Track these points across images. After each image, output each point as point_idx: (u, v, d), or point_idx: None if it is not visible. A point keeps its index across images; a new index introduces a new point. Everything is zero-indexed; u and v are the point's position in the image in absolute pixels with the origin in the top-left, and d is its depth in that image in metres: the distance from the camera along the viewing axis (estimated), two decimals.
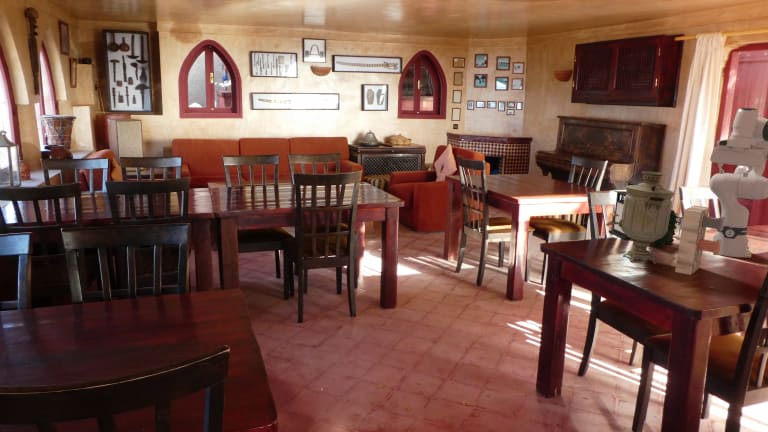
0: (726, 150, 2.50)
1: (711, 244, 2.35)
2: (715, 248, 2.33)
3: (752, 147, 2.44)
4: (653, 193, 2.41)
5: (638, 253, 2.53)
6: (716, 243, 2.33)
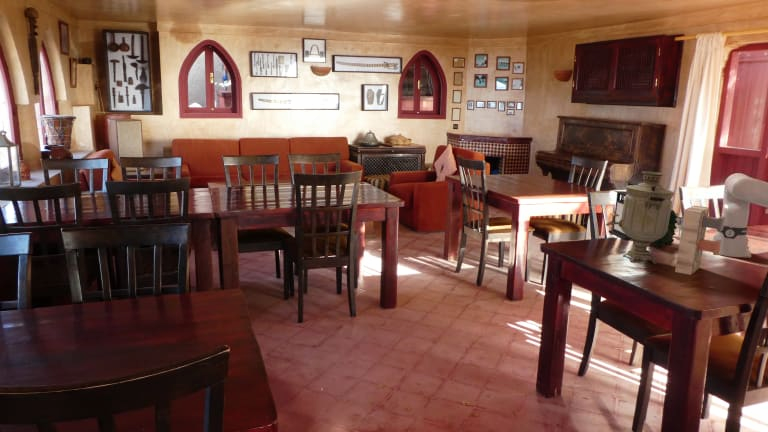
0: None
1: (711, 244, 2.35)
2: (715, 248, 2.33)
3: None
4: (653, 193, 2.41)
5: (638, 253, 2.53)
6: (716, 243, 2.33)
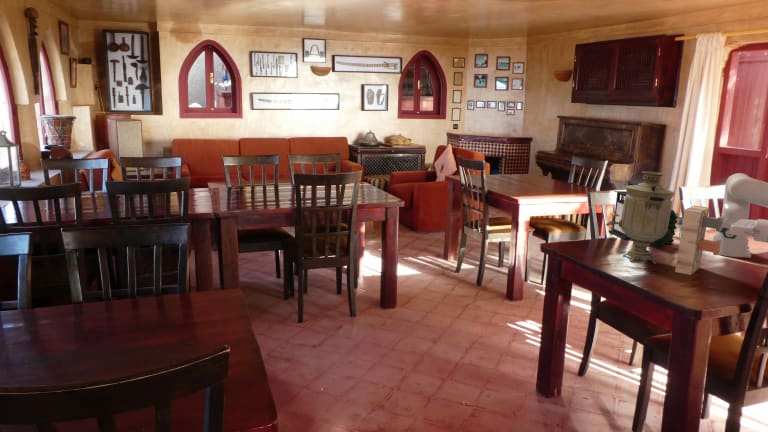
0: None
1: (711, 244, 2.35)
2: (715, 248, 2.33)
3: (756, 230, 2.21)
4: (653, 193, 2.41)
5: (638, 253, 2.53)
6: (716, 243, 2.33)
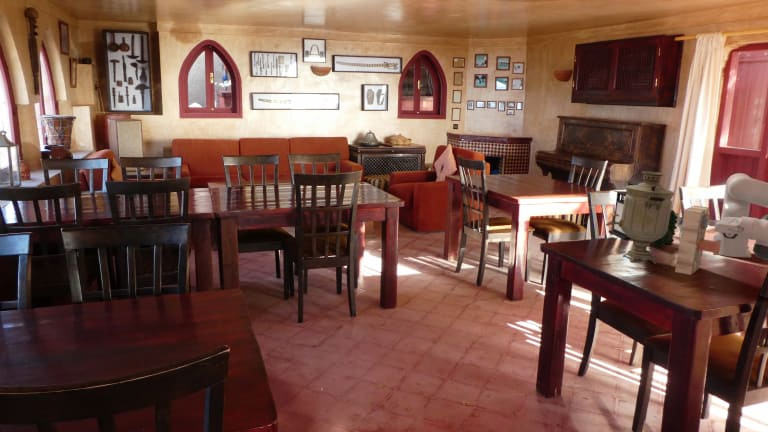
0: None
1: (711, 244, 2.35)
2: (715, 248, 2.33)
3: (740, 227, 2.24)
4: (653, 193, 2.41)
5: (638, 253, 2.53)
6: (716, 243, 2.33)
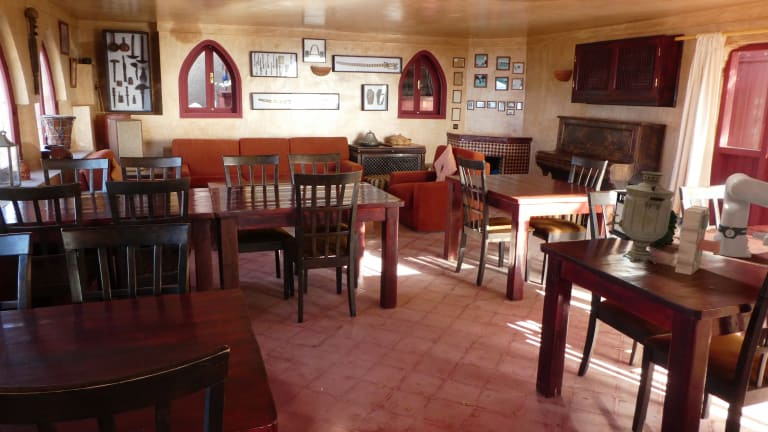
0: None
1: (711, 244, 2.35)
2: (715, 248, 2.33)
3: None
4: (653, 193, 2.41)
5: (638, 253, 2.53)
6: (716, 243, 2.33)
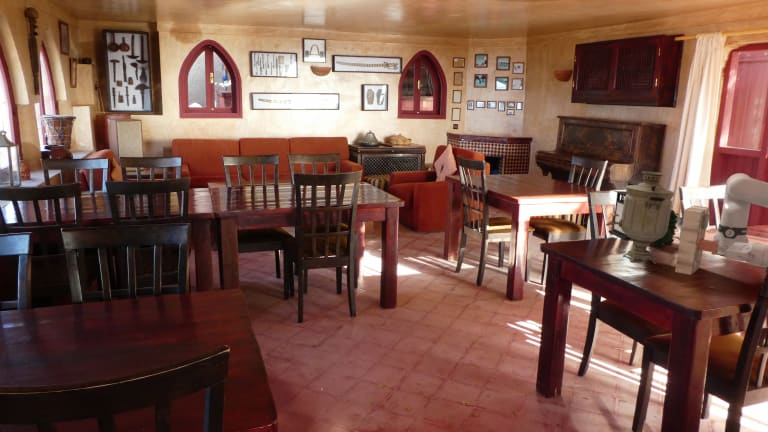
0: None
1: (709, 244, 2.35)
2: (713, 248, 2.33)
3: (751, 255, 2.23)
4: (653, 193, 2.41)
5: (638, 253, 2.53)
6: (714, 243, 2.33)
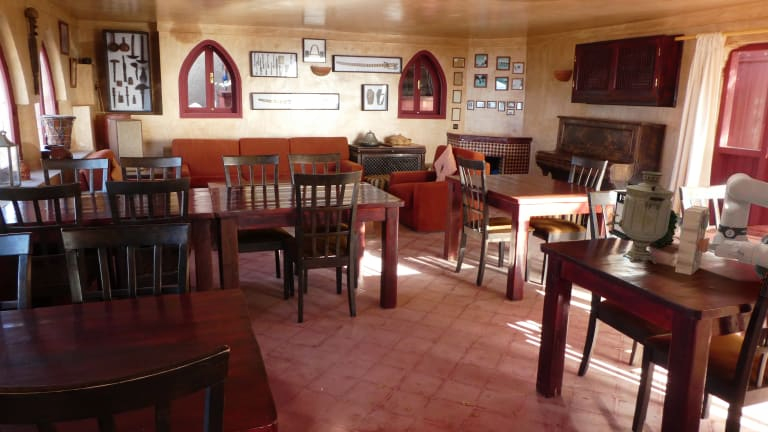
0: None
1: (700, 242, 2.37)
2: (703, 246, 2.36)
3: (740, 252, 2.25)
4: (653, 193, 2.41)
5: (638, 253, 2.53)
6: (704, 241, 2.35)
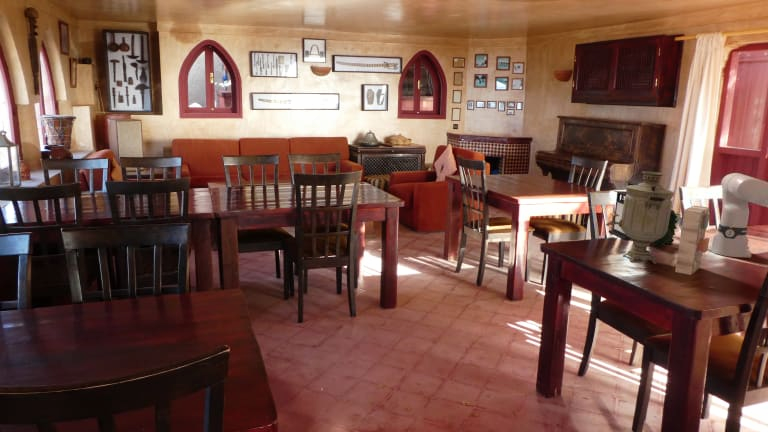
0: None
1: (699, 242, 2.37)
2: (703, 246, 2.36)
3: None
4: (653, 193, 2.41)
5: (638, 253, 2.53)
6: (704, 241, 2.35)
